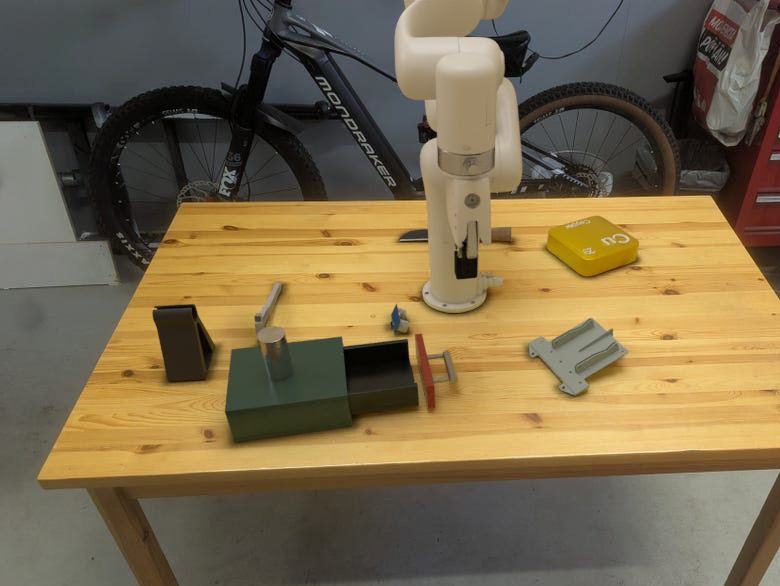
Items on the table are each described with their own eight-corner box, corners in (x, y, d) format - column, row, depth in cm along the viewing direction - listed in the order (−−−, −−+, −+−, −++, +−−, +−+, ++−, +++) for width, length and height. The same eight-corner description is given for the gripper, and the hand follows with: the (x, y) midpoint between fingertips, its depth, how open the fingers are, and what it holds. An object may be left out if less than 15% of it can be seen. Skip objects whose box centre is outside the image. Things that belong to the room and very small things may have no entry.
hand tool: (399, 224, 149) (510, 220, 148) (401, 236, 151) (511, 232, 150) (397, 235, 145) (511, 231, 144) (399, 248, 147) (511, 244, 146)
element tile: (596, 230, 152) (599, 211, 149) (640, 260, 142) (644, 240, 139) (542, 247, 146) (544, 227, 143) (584, 279, 136) (587, 259, 133)
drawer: (447, 352, 116) (446, 330, 113) (461, 404, 106) (461, 381, 103) (326, 367, 112) (322, 345, 109) (329, 422, 102) (325, 399, 99)
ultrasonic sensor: (402, 339, 121) (410, 325, 120) (390, 336, 120) (398, 322, 119) (399, 320, 126) (406, 306, 124) (387, 317, 125) (394, 303, 123)
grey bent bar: (266, 349, 117) (259, 320, 113) (259, 349, 117) (252, 320, 113) (282, 285, 133) (277, 257, 129) (277, 285, 133) (271, 258, 129)
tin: (293, 362, 104) (285, 324, 100) (293, 379, 101) (284, 340, 97) (267, 365, 104) (257, 327, 99) (266, 382, 101) (256, 343, 96)
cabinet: (346, 366, 114) (341, 336, 110) (352, 426, 103) (347, 395, 99) (240, 379, 111) (231, 349, 107) (234, 442, 100) (224, 411, 96)
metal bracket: (588, 301, 120) (639, 348, 109) (591, 324, 124) (641, 371, 114) (520, 340, 117) (567, 391, 107) (526, 361, 121) (572, 413, 111)
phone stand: (205, 380, 111) (185, 322, 103) (168, 382, 110) (145, 324, 102) (215, 346, 118) (198, 290, 110) (180, 348, 117) (160, 292, 109)
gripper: (506, 179, 82) (501, 302, 94) (483, 134, 93) (481, 248, 105) (446, 184, 81) (448, 307, 92) (430, 137, 92) (434, 252, 104)
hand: (465, 275), depth 99 cm, fingers closed
